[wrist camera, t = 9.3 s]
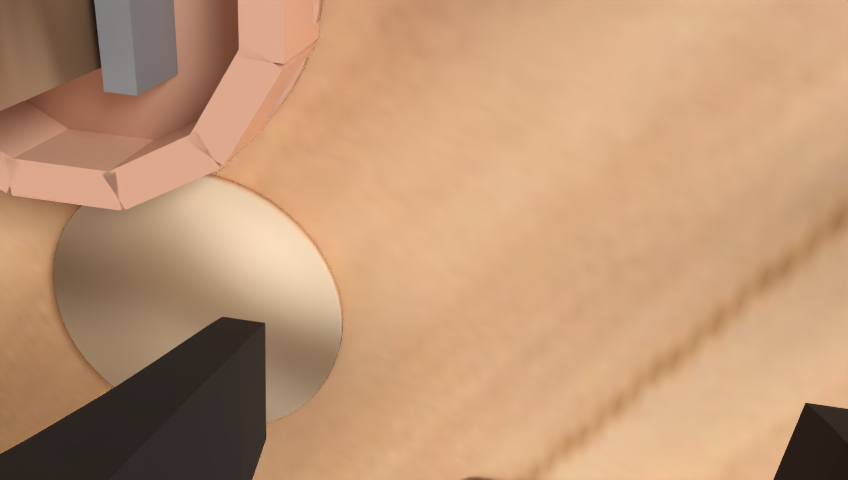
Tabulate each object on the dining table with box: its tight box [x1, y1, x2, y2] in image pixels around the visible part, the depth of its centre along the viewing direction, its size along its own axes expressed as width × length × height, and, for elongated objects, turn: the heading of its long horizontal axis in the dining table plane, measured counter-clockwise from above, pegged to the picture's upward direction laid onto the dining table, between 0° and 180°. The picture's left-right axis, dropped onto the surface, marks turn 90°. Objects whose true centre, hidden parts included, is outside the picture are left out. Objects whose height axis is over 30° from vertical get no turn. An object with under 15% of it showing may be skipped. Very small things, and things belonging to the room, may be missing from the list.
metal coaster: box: [53, 174, 343, 424], centre depth 22 cm, size 9×9×1 cm
